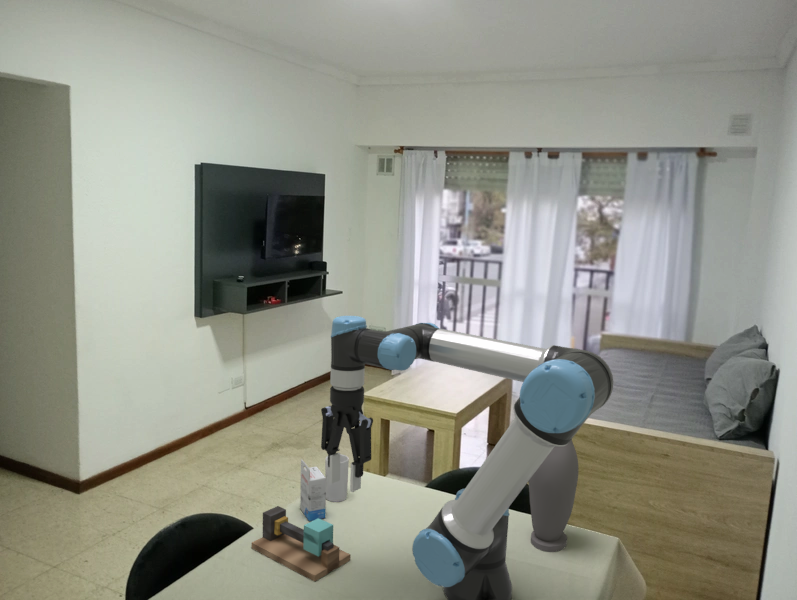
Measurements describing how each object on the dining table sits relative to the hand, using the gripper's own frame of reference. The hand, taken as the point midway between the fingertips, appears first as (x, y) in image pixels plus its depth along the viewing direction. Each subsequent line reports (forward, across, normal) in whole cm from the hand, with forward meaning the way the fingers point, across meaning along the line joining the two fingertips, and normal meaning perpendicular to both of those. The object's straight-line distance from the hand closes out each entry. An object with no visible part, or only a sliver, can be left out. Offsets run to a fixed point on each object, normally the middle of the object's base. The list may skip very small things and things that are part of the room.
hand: (344, 485), depth 145 cm
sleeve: (+18, +8, 0) cm, 20 cm away
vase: (+22, -29, -47) cm, 59 cm away
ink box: (+22, +27, -17) cm, 39 cm away
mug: (+22, +30, -30) cm, 48 cm away
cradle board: (+22, +14, 0) cm, 26 cm away
